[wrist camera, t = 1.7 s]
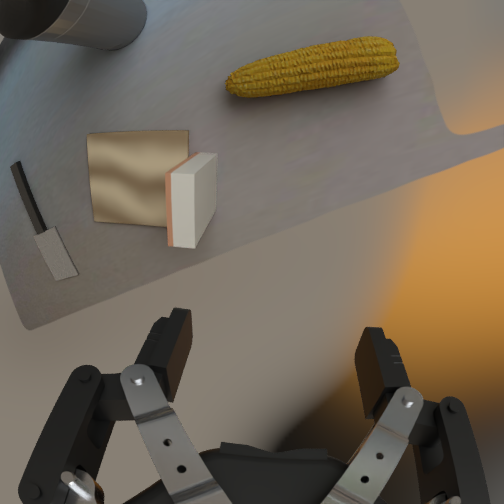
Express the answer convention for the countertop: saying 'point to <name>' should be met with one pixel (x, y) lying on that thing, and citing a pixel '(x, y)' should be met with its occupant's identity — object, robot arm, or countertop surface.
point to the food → (315, 67)
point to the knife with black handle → (44, 232)
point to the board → (133, 174)
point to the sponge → (190, 198)
